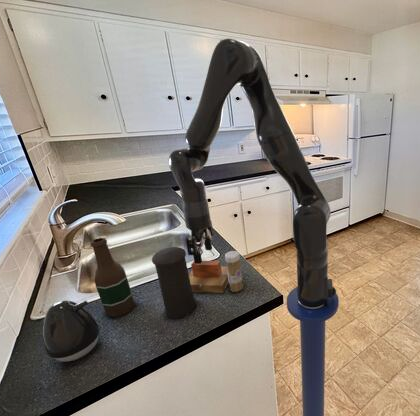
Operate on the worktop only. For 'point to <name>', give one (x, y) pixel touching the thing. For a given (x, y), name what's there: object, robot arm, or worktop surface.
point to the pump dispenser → (69, 331)
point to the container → (174, 281)
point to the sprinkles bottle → (234, 271)
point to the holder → (207, 269)
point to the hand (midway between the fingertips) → (204, 256)
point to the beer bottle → (111, 281)
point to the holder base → (210, 282)
